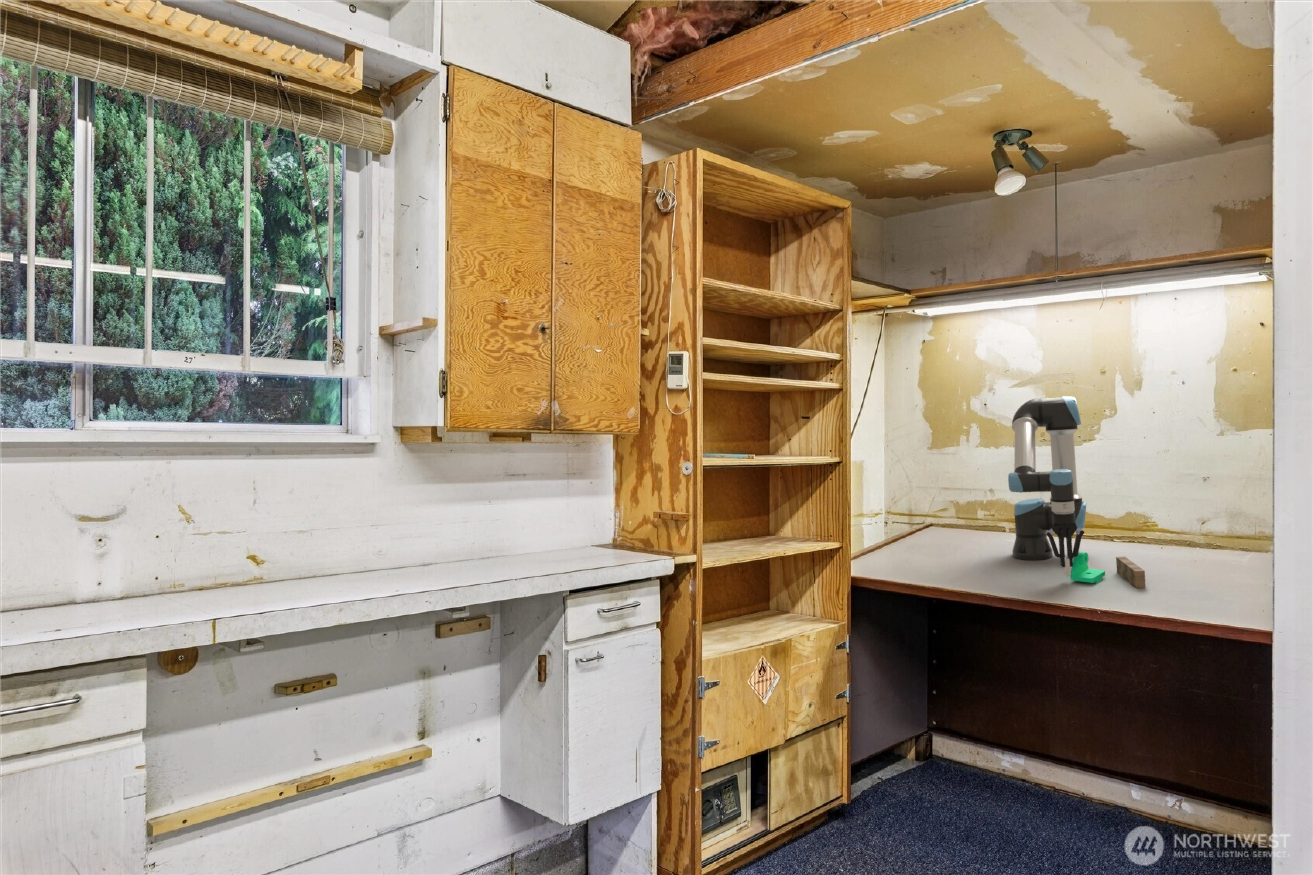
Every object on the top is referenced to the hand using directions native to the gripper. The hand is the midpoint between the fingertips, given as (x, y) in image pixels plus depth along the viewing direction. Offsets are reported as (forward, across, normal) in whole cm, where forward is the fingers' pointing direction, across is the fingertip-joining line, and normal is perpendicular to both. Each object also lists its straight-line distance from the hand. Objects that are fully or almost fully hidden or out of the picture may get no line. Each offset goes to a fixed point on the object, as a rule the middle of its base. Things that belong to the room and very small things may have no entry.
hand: (1067, 575), depth 303 cm
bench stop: (+2, +21, -1) cm, 21 cm away
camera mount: (+3, +7, +1) cm, 8 cm away
